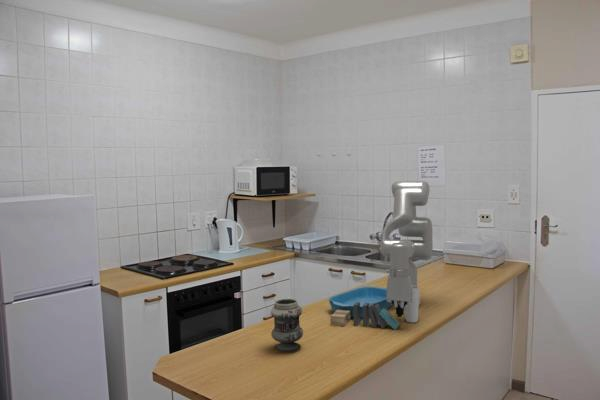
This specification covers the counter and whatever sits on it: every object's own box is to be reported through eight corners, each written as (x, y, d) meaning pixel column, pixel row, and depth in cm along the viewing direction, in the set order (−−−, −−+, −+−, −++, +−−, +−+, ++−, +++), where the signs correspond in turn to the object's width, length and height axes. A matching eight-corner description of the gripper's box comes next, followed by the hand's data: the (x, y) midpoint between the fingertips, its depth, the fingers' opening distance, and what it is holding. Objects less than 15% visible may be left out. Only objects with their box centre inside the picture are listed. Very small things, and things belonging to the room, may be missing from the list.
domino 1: (353, 325, 210) (353, 304, 209) (356, 322, 214) (356, 301, 214) (357, 326, 209) (357, 305, 209) (360, 322, 214) (360, 302, 213)
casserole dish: (358, 324, 212) (358, 308, 212) (319, 314, 228) (319, 299, 227) (405, 305, 239) (404, 291, 238) (367, 297, 254) (367, 284, 254)
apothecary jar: (286, 340, 194) (284, 295, 193) (310, 346, 187) (309, 300, 185) (265, 349, 185) (263, 302, 184) (289, 356, 177) (288, 307, 176)
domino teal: (394, 329, 203) (378, 313, 205) (396, 325, 208) (381, 310, 210) (397, 327, 203) (381, 311, 205) (399, 323, 208) (383, 307, 210)
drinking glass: (408, 324, 210) (408, 289, 209) (401, 319, 216) (400, 285, 215) (422, 322, 212) (422, 288, 211) (414, 317, 218) (414, 284, 217)
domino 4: (381, 328, 205) (372, 308, 206) (384, 324, 210) (375, 305, 211) (384, 327, 205) (375, 307, 206) (387, 323, 209) (378, 303, 210)
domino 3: (372, 327, 207) (368, 306, 207) (374, 323, 212) (371, 303, 211) (375, 327, 206) (371, 306, 206) (378, 323, 211) (374, 302, 211)
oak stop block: (337, 318, 220) (337, 309, 220) (350, 319, 218) (350, 310, 218) (330, 325, 211) (330, 316, 211) (344, 326, 209) (343, 317, 209)
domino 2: (362, 326, 208) (362, 305, 208) (365, 322, 213) (365, 302, 212) (366, 326, 208) (366, 306, 207) (369, 323, 212) (369, 302, 212)
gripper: (379, 273, 203) (380, 317, 204) (416, 275, 197) (416, 320, 198) (383, 269, 210) (383, 312, 211) (419, 271, 204) (419, 315, 205)
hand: (399, 316), depth 205 cm, fingers closed
